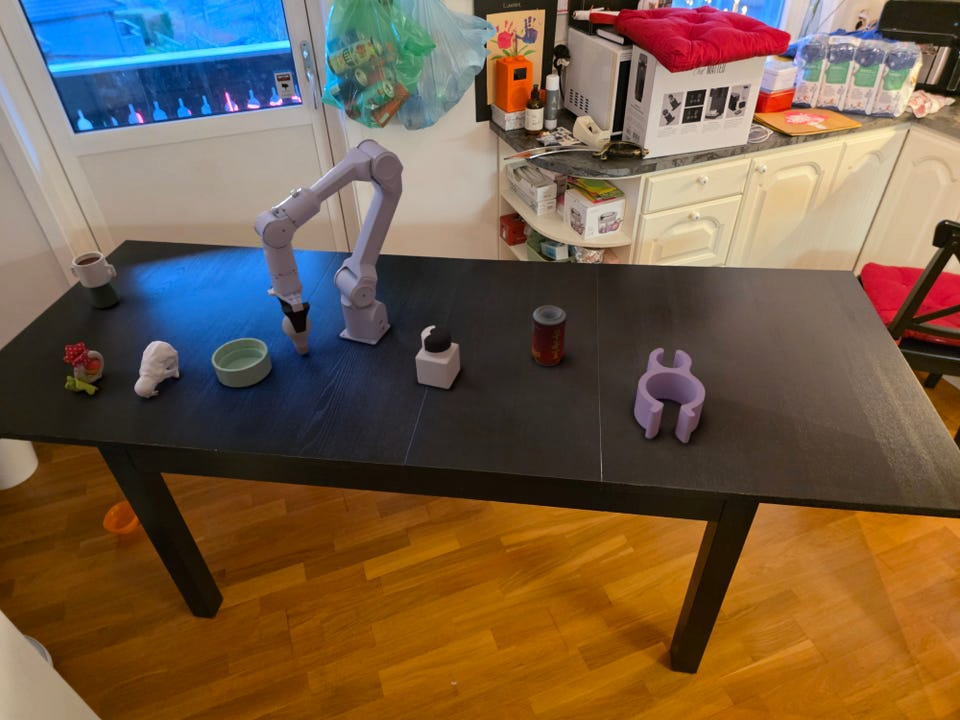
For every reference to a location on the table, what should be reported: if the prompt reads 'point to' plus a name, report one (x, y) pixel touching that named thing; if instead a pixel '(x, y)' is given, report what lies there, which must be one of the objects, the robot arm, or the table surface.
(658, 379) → the clip
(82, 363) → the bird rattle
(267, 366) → the bowl
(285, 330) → the lightbulb
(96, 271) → the character mug
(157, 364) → the white crouching figurine
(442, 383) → the medicine bottle
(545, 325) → the soda can
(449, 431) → the table surface
